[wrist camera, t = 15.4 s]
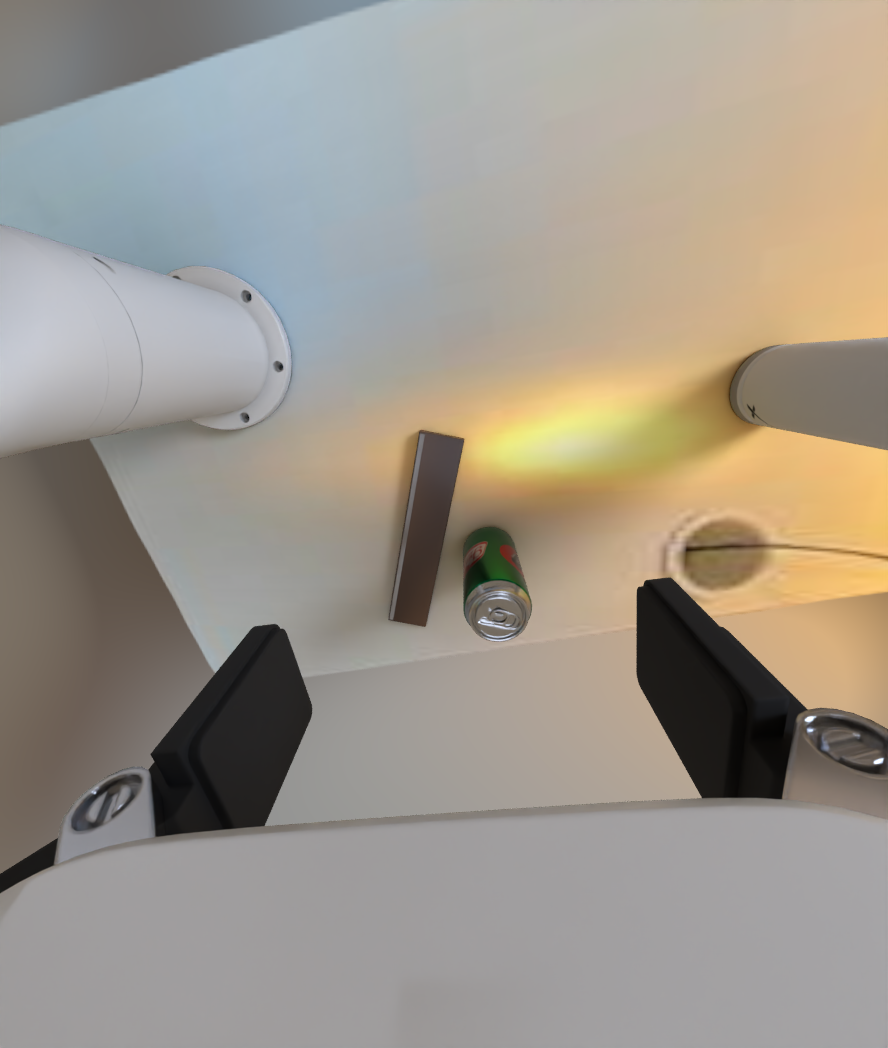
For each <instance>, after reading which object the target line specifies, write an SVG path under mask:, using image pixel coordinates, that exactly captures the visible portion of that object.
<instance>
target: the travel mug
mask: <svg viewBox="0 0 888 1048" xmlns="http://www.w3.org/2000/svg"><path fill="white" fill-rule="evenodd" d="M730 402H731V405H732V408H733V410H734V412H735V413H736V415H737V416H738V417H740V418H741V419H742V420H744V421H746V422H748V423H752V424H756V425H761V426H767V427H771V428H776V429H782V430H787V431H792V432H797V433H802V434H807V435H812V436H817V437H823V438H828V439H833V440H838V441H843V442H848V443H853V444H858V445H864V446H869V447H874V448H879V449H884V450H888V337H886V338H872V339H858V340H844V341H829V342H815V343H801V344H787V345H776V346H770V347H767V348H764V349H762V350H760V351H758V352H756V353H754V354H753V355H752V356H751V357H749V358H748V359H747V360H746V361H745V362H744V363H743V364H742V365H741V367H740V368H739V369H738V371H737V372H736V374H735V376H734V379H733V381H732V384H731V388H730Z"/></svg>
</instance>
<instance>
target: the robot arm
mask: <svg viewBox="0 0 888 1048" xmlns="http://www.w3.org/2000/svg"><path fill="white" fill-rule="evenodd" d="M250 295H251V297H252V298H251V301H250V300H249V296H250ZM280 364H283V370H282V369H281V368H280ZM291 368H292V362H291V350H290V346H289V342H288V338H287V334H286V332H285V329H284V327H283V325H282V323H281V320H280V318H279V317H278V315H277V314H276V312H275V311H274V309H273V307H272V306H271V305H270V303H269V302H268V301H267V300H266V299H265V298H264V297H263V296H262V295H261V293H260V292H258V291H257V290H256V289H255V288H253V287H252V286H251V285H250V284H248V283H247V282H246V281H244V280H242V279H240V278H238V277H236V276H234V275H233V274H230V273H227V272H225V271H222V270H220V269H215V268H210V267H206V266H189V267H185V268H181V269H177V270H174V271H172V272H170V273H168V274H167V275H163V274H160V273H157V272H154V271H150V270H147V269H144V268H141V267H137V266H134V265H131V264H128V263H125V262H121V261H118V260H115V259H112V258H109V257H105V256H102V255H99V254H96V253H92V252H89V251H86V250H83V249H80V248H76V247H73V246H70V245H67V244H63V243H60V242H57V241H54V240H51V239H48V238H45V237H42V236H39V235H36V234H33V233H30V232H27V231H23V230H20V229H17V228H13V227H9V226H5V225H0V459H1V458H5V457H9V456H12V455H16V454H20V453H24V452H28V451H32V450H36V449H41V448H45V447H50V446H55V445H60V444H64V443H69V442H74V441H79V440H85V439H90V438H95V437H101V436H107V435H113V434H118V433H123V432H128V431H133V430H138V429H143V428H148V427H153V426H158V425H164V424H169V423H174V422H179V421H184V420H191V421H193V422H195V423H198V424H200V425H202V426H206V427H209V428H213V429H220V430H235V429H242V428H246V427H250V426H252V425H255V424H257V423H259V422H261V421H263V420H264V419H266V418H267V417H268V416H270V415H271V414H272V413H273V412H274V411H275V410H276V409H277V407H278V406H279V405H280V404H281V402H282V400H283V398H284V396H285V394H286V392H287V389H288V386H289V382H290V378H291ZM247 414H248V415H249V418H250V419H248V418H247ZM637 678H638V682H639V685H640V687H641V689H642V691H643V693H644V694H645V696H646V698H647V700H648V701H649V703H650V705H651V707H652V709H653V711H654V712H655V714H656V716H657V718H658V720H659V721H660V723H661V725H662V727H663V729H664V730H665V732H666V734H667V736H668V738H669V739H670V741H671V743H672V745H673V747H674V748H675V750H676V752H677V753H678V755H679V757H680V759H681V761H682V763H683V764H684V766H685V768H686V770H687V772H688V773H689V775H690V777H691V779H692V781H693V782H694V784H695V786H696V788H697V789H698V791H699V793H700V795H701V796H702V798H697V799H676V800H652V801H631V802H613V803H597V804H582V805H565V806H549V807H533V808H517V809H501V810H486V811H471V812H456V813H443V814H442V813H441V814H427V815H412V816H398V817H384V818H369V819H355V820H342V821H329V822H315V823H303V824H289V825H275V826H265V823H266V821H267V819H268V817H269V814H270V812H271V810H272V807H273V805H274V803H275V800H276V798H277V796H278V793H279V791H280V789H281V786H282V784H283V782H284V779H285V777H286V775H287V772H288V770H289V768H290V765H291V763H292V761H293V759H294V756H295V754H296V752H297V749H298V747H299V745H300V742H301V740H302V737H303V735H304V733H305V731H306V728H307V726H308V723H309V722H310V719H311V715H312V704H311V701H310V698H309V696H308V693H307V690H306V687H305V684H304V681H303V678H302V676H301V673H300V670H299V667H298V664H297V661H296V658H295V656H294V653H293V650H292V647H291V644H290V641H289V639H288V636H287V633H286V631H285V630H284V629H280V627H279V626H278V625H276V624H271V625H263V626H255V627H253V628H252V629H251V630H250V631H249V633H248V634H247V635H246V636H245V638H244V639H243V640H242V641H241V642H240V644H239V645H238V646H237V647H236V649H235V650H234V651H233V652H232V654H231V655H230V656H229V657H228V659H227V660H226V661H225V662H224V664H223V665H222V666H221V667H220V669H219V670H218V671H217V672H216V673H215V675H214V676H213V677H212V678H211V680H210V681H209V682H208V683H207V685H206V686H205V687H204V688H203V690H202V691H201V692H200V693H199V695H198V696H197V697H196V698H195V700H194V701H193V702H192V703H191V705H190V706H189V707H188V708H187V710H186V711H185V712H184V713H183V715H182V716H181V717H180V718H179V719H178V721H177V722H176V723H175V724H174V726H173V727H172V728H171V729H170V731H169V732H168V733H167V734H166V736H165V737H164V738H163V739H162V740H161V742H160V743H159V744H158V746H157V747H156V748H155V749H154V751H153V752H152V753H151V756H152V758H153V760H154V761H155V762H154V763H153V765H152V766H151V767H150V769H149V770H147V769H145V768H143V767H130V768H127V769H123V770H120V771H118V772H116V773H114V774H111V775H109V776H107V777H106V778H104V779H103V780H101V781H99V782H98V783H96V784H95V785H94V786H92V787H91V788H90V789H89V790H88V791H86V792H85V793H84V794H82V796H81V797H80V798H79V799H78V800H77V801H76V802H75V803H74V804H73V805H72V806H71V807H70V809H69V810H68V812H67V813H66V815H65V816H64V818H63V821H62V823H61V826H60V830H59V836H58V838H57V839H55V840H54V841H52V842H51V843H49V844H47V845H46V846H44V847H43V848H41V849H39V850H38V851H36V852H35V853H33V854H31V855H30V856H28V857H27V858H25V859H23V860H22V861H20V862H19V863H17V864H15V865H14V866H12V867H11V868H9V869H7V870H6V871H4V872H3V873H1V874H0V1048H888V729H887V728H885V727H883V726H881V725H879V724H877V723H875V722H874V721H872V720H870V719H867V718H864V717H862V716H859V715H857V714H854V713H851V712H846V711H842V710H838V709H828V708H816V709H810V710H808V709H806V708H805V707H804V706H803V705H802V704H801V703H800V702H799V701H798V700H797V699H796V698H795V697H794V696H793V695H792V694H791V693H790V692H789V691H788V690H787V689H786V688H785V687H784V686H783V685H782V684H781V683H780V682H779V681H778V680H777V679H776V678H775V677H774V676H773V675H772V674H771V673H770V672H769V671H768V670H767V669H766V668H765V667H764V666H763V665H762V664H761V663H760V662H759V661H758V660H757V659H756V658H755V657H754V656H753V655H752V654H751V653H750V652H749V651H748V650H747V649H746V648H745V647H744V646H743V645H742V644H741V643H740V642H739V641H738V640H737V639H736V638H735V637H734V636H733V635H732V634H731V633H730V632H729V631H727V630H726V629H725V628H723V627H720V626H718V624H717V623H716V622H715V621H714V620H713V619H712V618H711V617H710V616H709V615H708V614H707V613H706V612H705V611H704V610H703V609H702V608H701V607H700V606H699V605H698V604H697V603H696V602H695V601H694V600H693V599H692V598H691V597H690V596H689V595H688V594H687V593H686V592H685V591H684V590H683V589H682V588H681V587H680V586H679V585H678V584H677V583H676V582H675V581H674V580H673V579H671V578H661V579H652V580H646V581H645V582H644V586H642V587H638V589H637Z"/></svg>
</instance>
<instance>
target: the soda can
mask: <svg viewBox="0 0 888 1048" xmlns="http://www.w3.org/2000/svg"><path fill="white" fill-rule="evenodd" d="M463 604H464V615H465V618H466V620H467V622H468V624H469V625H470V626H471V627H472V629H473V630H474V631H475V633H476V634H478V635H479V636H480V637H482V638H484V639H486V640H489V641H494V642H502V641H507V640H511V639H513V638H515V637H517V636H518V635H519V634H520V633H522V631H523V630H524V629H525V627H526V626H527V623H528V620H529V618H530V616H531V612H532V603H531V599H530V596H529V592H528V589H527V585H526V582H525V579H524V575H523V572H522V568H521V565H520V562H519V558H518V555H517V552H516V548H515V545H514V542H513V540H512V538H511V537H510V536H509V535H508V534H507V533H506V532H505V531H503V530H501V529H499V528H495V527H485V528H481V529H478V530H476V531H474V532H473V533H472V534H471V535H470V536H469V537H468V538H467V540H466V542H465V544H464V548H463Z"/></svg>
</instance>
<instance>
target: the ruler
mask: <svg viewBox="0 0 888 1048" xmlns="http://www.w3.org/2000/svg"><path fill="white" fill-rule="evenodd" d="M463 444H464V438H459V437H454V436H449V435H444V434H439V433H434V432H429V431H424V430H420V432H419V438H418V445H417V451H416V457H415V463H414V469H413V475H412V481H411V487H410V493H409V499H408V505H407V511H406V517H405V523H404V529H403V535H402V541H401V547H400V553H399V559H398V565H397V571H396V577H395V583H394V589H393V595H392V601H391V607H390V613H389V619H388V620H392V621H397V622H402V623H408V624H413V625H419V626H424V627H426V622H427V618H428V613H429V608H430V603H431V598H432V593H433V589H434V584H435V579H436V574H437V569H438V564H439V560H440V555H441V550H442V545H443V540H444V535H445V531H446V526H447V521H448V516H449V511H450V506H451V502H452V497H453V492H454V487H455V482H456V477H457V473H458V468H459V463H460V458H461V453H462V448H463Z"/></svg>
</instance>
